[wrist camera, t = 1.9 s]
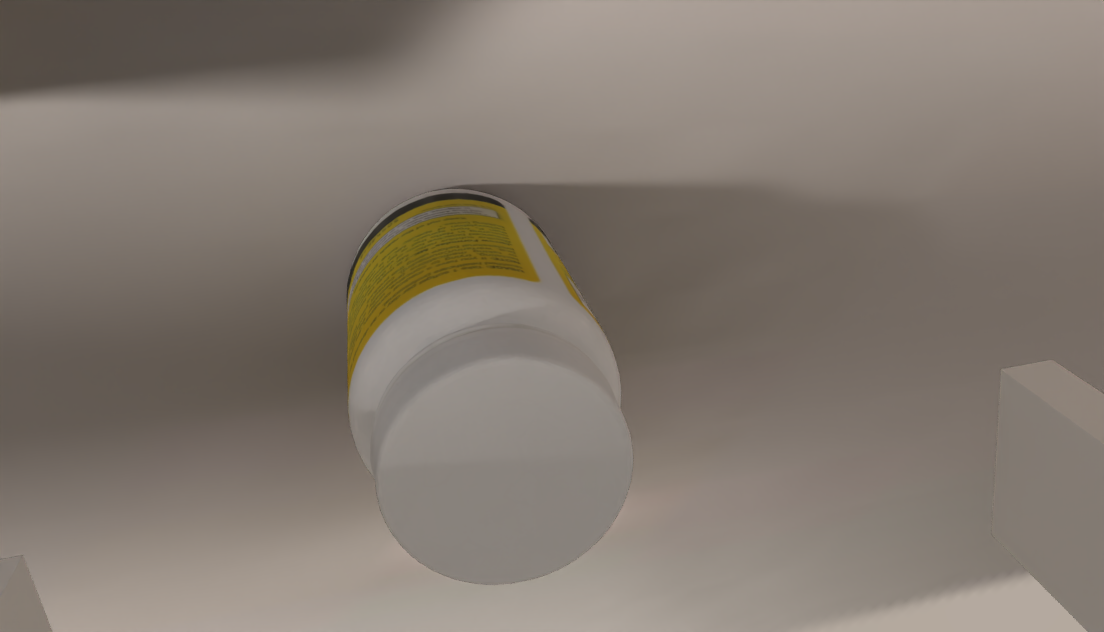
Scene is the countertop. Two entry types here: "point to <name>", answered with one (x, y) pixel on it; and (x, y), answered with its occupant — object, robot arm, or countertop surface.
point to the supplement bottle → (482, 391)
